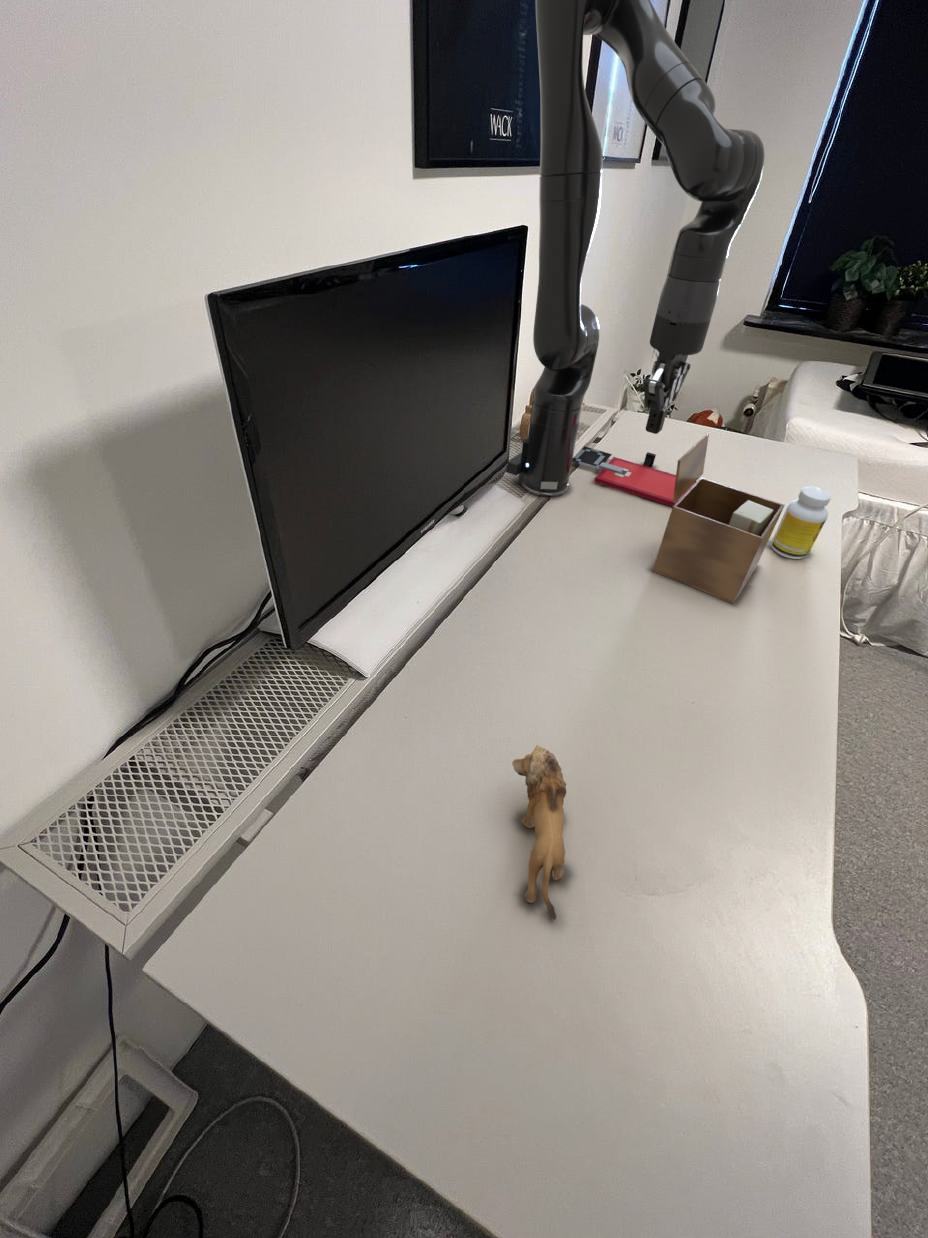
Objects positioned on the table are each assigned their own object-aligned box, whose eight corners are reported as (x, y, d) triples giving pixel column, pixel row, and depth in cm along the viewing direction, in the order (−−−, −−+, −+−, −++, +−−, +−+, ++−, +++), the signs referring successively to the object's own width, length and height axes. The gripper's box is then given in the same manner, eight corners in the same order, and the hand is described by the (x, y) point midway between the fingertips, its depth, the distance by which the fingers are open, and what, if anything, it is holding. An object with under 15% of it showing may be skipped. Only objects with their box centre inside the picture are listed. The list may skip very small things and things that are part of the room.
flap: (675, 502, 92) (672, 502, 92) (703, 473, 100) (700, 473, 100) (680, 460, 88) (677, 460, 88) (708, 433, 96) (706, 433, 96)
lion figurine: (504, 789, 67) (512, 739, 61) (550, 786, 68) (563, 737, 62) (527, 924, 56) (540, 880, 50) (582, 920, 57) (601, 875, 51)
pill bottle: (802, 565, 104) (832, 507, 96) (765, 551, 107) (791, 493, 99) (811, 549, 108) (841, 492, 100) (775, 536, 111) (801, 479, 103)
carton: (652, 570, 100) (672, 506, 92) (679, 538, 109) (700, 477, 100) (733, 604, 95) (762, 538, 87) (756, 567, 103) (784, 504, 95)
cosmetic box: (731, 587, 97) (759, 523, 89) (706, 576, 99) (732, 512, 91) (747, 571, 101) (775, 508, 93) (722, 560, 103) (748, 498, 95)
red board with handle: (586, 446, 135) (560, 473, 126) (589, 435, 133) (562, 461, 124) (719, 485, 125) (702, 518, 115) (724, 473, 123) (706, 505, 113)
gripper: (675, 299, 89) (647, 413, 100) (640, 316, 81) (613, 437, 92) (725, 309, 86) (690, 425, 97) (693, 327, 78) (659, 452, 89)
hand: (653, 431), depth 95 cm, fingers closed
